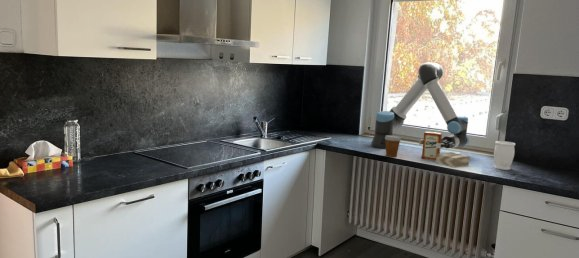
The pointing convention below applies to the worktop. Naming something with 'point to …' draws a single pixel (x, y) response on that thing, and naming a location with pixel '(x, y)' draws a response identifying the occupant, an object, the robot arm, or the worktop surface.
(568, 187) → the worktop surface
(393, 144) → the disposable coffee cup
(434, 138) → the baking soda box
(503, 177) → the worktop surface
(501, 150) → the jar
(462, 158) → the plinth
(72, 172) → the worktop surface
